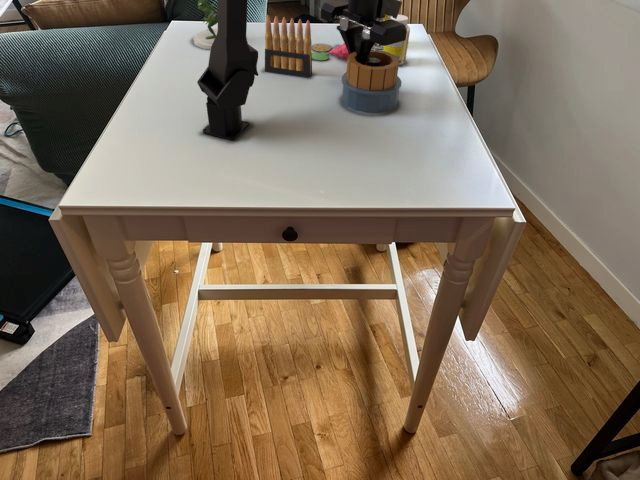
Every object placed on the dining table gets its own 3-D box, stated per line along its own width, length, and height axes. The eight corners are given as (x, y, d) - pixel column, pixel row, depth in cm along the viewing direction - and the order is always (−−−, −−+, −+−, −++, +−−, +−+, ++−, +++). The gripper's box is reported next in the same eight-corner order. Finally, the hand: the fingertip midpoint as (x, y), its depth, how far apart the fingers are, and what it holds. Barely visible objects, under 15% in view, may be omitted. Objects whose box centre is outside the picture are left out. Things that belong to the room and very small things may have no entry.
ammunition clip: (312, 74, 109) (313, 19, 101) (310, 78, 108) (311, 21, 100) (267, 68, 111) (265, 13, 103) (264, 71, 110) (262, 15, 102)
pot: (388, 120, 95) (391, 99, 92) (334, 108, 98) (335, 87, 95) (402, 96, 103) (405, 76, 100) (352, 86, 105) (353, 66, 103)
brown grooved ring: (387, 94, 92) (390, 73, 89) (339, 84, 95) (340, 63, 92) (401, 75, 99) (404, 54, 96) (356, 66, 102) (358, 46, 99)
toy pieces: (362, 50, 121) (364, 32, 118) (346, 66, 113) (347, 47, 110) (319, 42, 124) (319, 24, 121) (300, 57, 117) (300, 38, 114)
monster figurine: (192, 33, 126) (186, -10, 119) (238, 31, 128) (235, -12, 121) (195, 51, 117) (188, 5, 110) (244, 48, 119) (241, 3, 113)
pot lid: (391, 103, 92) (395, 77, 88) (332, 91, 95) (334, 65, 91) (407, 79, 100) (411, 54, 97) (352, 68, 103) (354, 44, 100)
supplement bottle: (394, 55, 119) (401, 11, 112) (409, 63, 116) (417, 18, 109) (377, 59, 117) (382, 15, 110) (391, 68, 114) (398, 22, 107)
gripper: (434, -14, 86) (419, 72, 97) (363, -36, 97) (357, 43, 107) (389, -4, 81) (378, 85, 92) (320, -29, 92) (317, 53, 102)
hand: (358, 65), depth 98 cm, fingers closed on brown grooved ring
